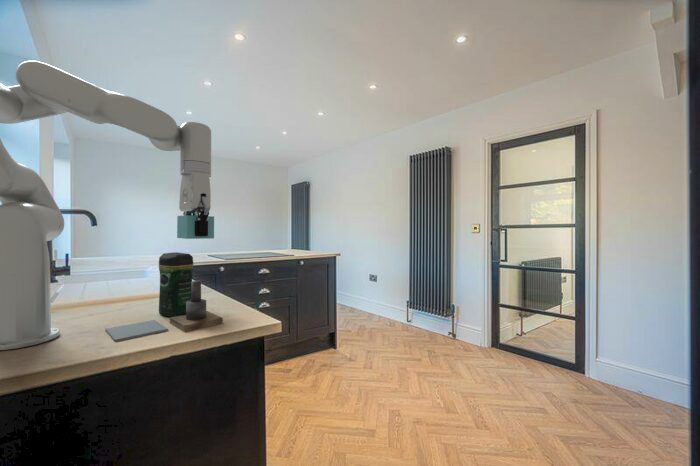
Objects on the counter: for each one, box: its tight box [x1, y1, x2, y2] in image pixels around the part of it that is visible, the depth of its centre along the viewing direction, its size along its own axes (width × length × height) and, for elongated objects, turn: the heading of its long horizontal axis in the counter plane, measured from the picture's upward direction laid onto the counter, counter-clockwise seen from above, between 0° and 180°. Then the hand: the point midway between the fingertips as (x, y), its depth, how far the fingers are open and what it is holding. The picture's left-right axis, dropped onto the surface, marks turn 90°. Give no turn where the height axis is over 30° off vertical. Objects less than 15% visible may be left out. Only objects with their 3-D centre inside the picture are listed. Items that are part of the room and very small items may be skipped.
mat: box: [104, 319, 169, 343], centre depth 81 cm, size 11×11×1 cm
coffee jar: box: [158, 251, 195, 318], centre depth 96 cm, size 10×8×19 cm
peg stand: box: [169, 280, 223, 332], centre depth 87 cm, size 10×10×12 cm
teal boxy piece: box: [176, 215, 215, 240], centre depth 87 cm, size 7×7×6 cm
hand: (195, 235), depth 87 cm, fingers closed on teal boxy piece, 7 cm apart
